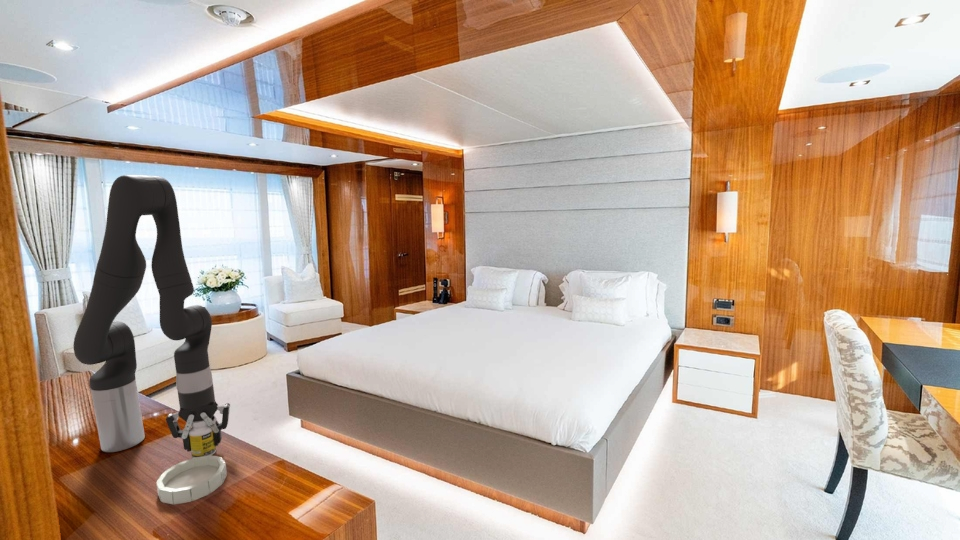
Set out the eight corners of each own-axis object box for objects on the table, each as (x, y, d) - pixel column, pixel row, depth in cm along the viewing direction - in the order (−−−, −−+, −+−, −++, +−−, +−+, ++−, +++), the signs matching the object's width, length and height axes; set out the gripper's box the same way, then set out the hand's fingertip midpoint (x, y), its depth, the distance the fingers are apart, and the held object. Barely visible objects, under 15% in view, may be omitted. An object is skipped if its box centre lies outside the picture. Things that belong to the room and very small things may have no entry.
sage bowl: (153, 484, 101) (152, 473, 100) (217, 460, 110) (215, 449, 109) (165, 512, 92) (163, 500, 91) (233, 483, 101) (232, 471, 100)
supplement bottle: (205, 461, 109) (200, 425, 108) (186, 459, 110) (181, 423, 109) (221, 449, 114) (217, 414, 113) (204, 446, 116) (199, 412, 114)
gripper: (230, 375, 115) (237, 433, 118) (165, 384, 110) (174, 445, 113) (225, 386, 108) (233, 448, 111) (156, 397, 103) (166, 461, 106)
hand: (203, 446), depth 112 cm, fingers closed on supplement bottle, 5 cm apart
